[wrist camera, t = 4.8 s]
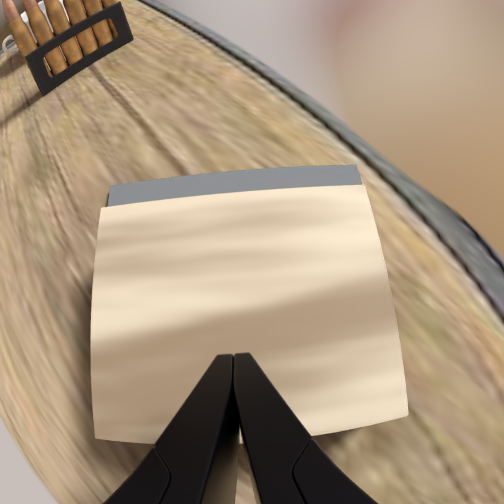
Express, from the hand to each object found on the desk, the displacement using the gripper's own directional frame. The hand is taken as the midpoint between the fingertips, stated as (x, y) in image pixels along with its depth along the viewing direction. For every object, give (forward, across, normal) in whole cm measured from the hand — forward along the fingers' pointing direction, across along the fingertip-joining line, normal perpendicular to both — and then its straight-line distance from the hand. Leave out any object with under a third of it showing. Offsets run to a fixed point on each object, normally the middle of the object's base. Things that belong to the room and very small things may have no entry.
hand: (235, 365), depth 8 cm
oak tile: (+2, 0, +6) cm, 6 cm away
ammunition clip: (+25, +14, -14) cm, 32 cm away
